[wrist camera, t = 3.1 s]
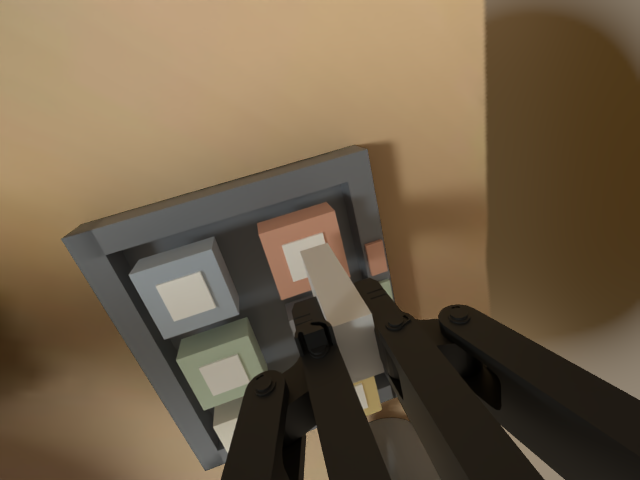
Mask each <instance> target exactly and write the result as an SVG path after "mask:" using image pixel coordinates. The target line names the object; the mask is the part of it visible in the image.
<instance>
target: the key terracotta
mask: <svg viewBox="0 0 640 480" xmlns="http://www.w3.org/2000/svg"><path fill="white" fill-rule="evenodd" d="M257 227H258V234H259V237H260V240H261V243H262V246H263V249H264V251H265V254H266V257H267V260H268V263H269V266H270V269H271V272H272V274H273V277H274V280H275V283H276V286H277V289H278V292H279V294H280V297H281V300H284V299H287V298H290V297H293V296H296V295H298V294H301V293H304V292H307V291H310V290H311V287H310V283H309V280H308V277H307V273H306V270H305V267H304V263H303V260H302V257H301V253H300V251H303V250H306V249H309V248H312V247H315V246H318V245H322V244H325V243H328V244H329V246H330V247H331V249H332V251H333V252H334V254H335V256H336V257H337V259H338V260H339V262H340V264H341V265H342V267H343V268H344V270H345V272H346V273H347V275H348V276H349V277H350V273H349V268H348V264H347V260H346V256H345V252H344V247H343V243H342V239H341V235H340V230H339V226H338V222H337V218H336V214H335V210H334V209H333V208H332V207H331V206H330V205H329V204H328V203H327V202H324V203H321V204H318V205H314V206H311V207H308V208H305V209H301V210H298V211H295V212H292V213H288V214H285V215H282V216H279V217H275V218H272V219H269V220H266V221H262V222H259V223H257Z"/></svg>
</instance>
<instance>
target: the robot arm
mask: <svg viewBox="0 0 640 480" xmlns="http://www.w3.org/2000/svg"><path fill="white" fill-rule="evenodd" d="M300 253H301V257H302V260H303V263H304V267H305V270H306V273H307V277H308V280H309V283H310V287H311V290H312V293H313V296H314V297H312V298H309V299H306V300H303V301H300V302H297V303H294V306H293V309H292V316H293V320H294V324H295V329H296V332H295V335H294V339H295V342H296V345H297V348H298V351H299V354H300V356H299V358H298V360H297V362H296V363H295V364H294V365H293V366H292V367H291V368H289V369H288V370H287V371H285V372H284V373H281V372H278V371H276V370H268V371H265V372H262V373H260V374H258V375H257V376H255V377H254V378H253V379H252V380H251V381H250V382H249V383H248V385H247V387H246V389H245V393H244V396H243V400H242V404H241V407H240V411H239V415H238V418H237V422H236V426H235V429H234V433H233V437H232V440H231V444H230V448H229V451H228V455H227V459H226V462H225V466H224V470H223V473H222V477H221V480H303V479H304V463H305V447H306V433H307V432H308V431H309V430H311V429H312V428H313V427H315V426H316V425H317V430H318V434H319V438H320V443H321V447H322V451H323V456H324V460H325V464H326V469H327V473H328V477H329V480H391V478H390V475H389V473H388V470H387V468H386V465H385V463H384V460H383V458H382V455H381V453H380V450H379V448H378V445H377V443H376V440H375V438H374V435H373V433H372V430H371V428H370V425H369V423H368V420H367V418H366V415H365V413H364V410H363V408H362V405H361V403H360V400H359V398H358V395H357V393H356V390H355V388H354V385H353V383H356V382H359V381H361V380H364V379H367V378H370V377H372V376H375V375H378V374H381V373H383V372H384V368H383V365H384V366H385V368H386V370H387V372H388V377H389V382H390V386H391V391H392V395H393V398H395V397H396V395H397V397H398V399H399V401H400V403H401V405H402V407H403V409H404V411H405V412H406V414H407V416H408V418H409V420H410V422H411V424H412V426H413V428H414V430H415V431H416V433H417V435H418V437H419V439H420V441H421V443H422V445H423V447H424V448H425V450H426V452H427V454H428V456H429V458H430V460H431V462H432V464H433V466H434V467H435V469H436V471H437V473H438V475H439V477H440V479H441V480H544V479H543V477H542V476H541V475H540V474H539V473H538V471H537V470H536V469H535V468H534V466H533V465H532V464H531V463H530V461H529V460H528V459H527V458H526V456H525V455H524V454H523V453H522V451H521V450H520V449H519V448H518V447H517V445H516V444H515V443H514V442H513V440H512V439H511V438H510V437H509V435H508V434H507V433H506V432H505V430H504V429H503V428H502V427H504V428H505V429H506V430H507V431H508V432H510V433H511V434H512V435H513V436H514V437H515V438H517V439H518V440H519V441H520V442H522V443H523V444H524V445H525V446H526V447H527V448H528V449H530V450H531V451H532V452H533V453H534V454H535V455H537V456H538V457H539V458H540V459H541V460H543V461H544V462H545V463H546V464H547V465H548V466H550V467H551V468H552V469H553V470H554V471H556V472H557V473H558V474H559V475H560V476H561V477H563V478H564V479H565V480H640V400H638V399H637V398H635V397H633V396H631V395H629V394H628V393H626V392H624V391H622V390H620V389H619V388H617V387H615V386H613V385H611V384H609V383H608V382H606V381H604V380H602V379H601V378H598V377H597V376H595V375H593V374H591V373H590V372H588V371H586V370H584V369H582V368H581V367H579V366H577V365H575V364H573V363H571V362H570V361H568V360H566V359H564V358H562V357H561V356H559V355H557V354H555V353H554V352H552V351H550V350H548V349H546V348H544V347H543V346H541V345H539V344H537V343H535V342H534V341H532V340H530V339H528V338H526V337H524V336H523V335H521V334H519V333H517V332H516V331H514V330H512V329H510V328H508V327H507V326H505V325H503V324H501V323H499V322H497V321H496V320H494V319H492V318H490V317H488V316H487V315H485V314H483V313H481V312H479V311H478V310H476V309H474V308H472V307H469V306H466V305H450V306H448V307H445V308H444V309H442V310H441V311H440V313H439V316H438V318H439V319H431V320H416V319H414V317H412V316H411V315H410V314H408V313H405V312H402V311H401V310H400V309H399V308H398V306H397V305H396V304H395V302H394V301H393V300H392V299H391V297H390V296H389V295H388V294H387V292H386V291H385V290H384V289H383V287H382V286H381V284H380V283H379V282H378V281H376V280H374V279H372V278H367V279H364V280H361V281H358V282H355V283H352V281H351V280H350V278H349V276H348V275H347V273H346V272H345V270H344V268H343V267H342V265H341V264H340V262H339V260H338V259H337V257H336V256H335V254H334V252H333V251H332V249H331V247H330V246H329V244H328V243H325V244H322V245H318V246H315V247H312V248H309V249H306V250H303V251H300ZM501 426H502V427H501Z"/></svg>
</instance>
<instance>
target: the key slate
mask: <svg viewBox="0 0 640 480" xmlns="http://www.w3.org/2000/svg"><path fill="white" fill-rule="evenodd" d="M129 277H130V279H131V281H132V282H133V284H134V286H135V288H136V290H137V291H138V293H139V295H140V297H141V299H142V300H143V302H144V304H145V306H146V308H147V309H148V311H149V313H150V315H151V317H152V318H153V320H154V322H155V324H156V326H157V327H158V329H159V331H160V333H161V335H162V336H163V338H164V340H165V339H168V338H171V337H174V336H177V335H180V334H183V333H186V332H189V331H192V330H195V329H198V328H201V327H204V326H207V325H210V324H213V323H215V322H218V321H221V320H224V319H227V318H230V317H233V316H236V315H239V296H238V293H237V291H236V288H235V286H234V283H233V281H232V279H231V276H230V274H229V271H228V269H227V266H226V264H225V261H224V259H223V257H222V254H221V252H220V249H219V247H218V244H217V242H216V240H215V237H210V238H207V239H204V240H201V241H197V242H194V243H191V244H188V245H184V246H181V247H178V248H175V249H171V250H168V251H165V252H162V253H158V254H155V255H152V256H149V257H145V258H142V259H139V260H138V262H137V263H136V265H135V266H134V268H133V269H132V271H131V272H130V274H129Z"/></svg>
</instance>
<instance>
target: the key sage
mask: <svg viewBox="0 0 640 480" xmlns="http://www.w3.org/2000/svg"><path fill="white" fill-rule="evenodd" d="M176 362H177V363H178V365H179V367H180V369H181V370H182V372H183V374H184V376H185V378H186V379H187V381H188V383H189V385H190V387H191V388H192V390H193V392H194V394H195V396H196V397H197V399H198V401H199V403H200V405H201V406H202V408H203V410H207V409H210V408H212V407H215V406H218V405H221V404H223V403H226V402H229V401H232V400H234V399H237V398H240V397H243V396H244V393H245V389H246V387H247V385H248V383H249V382H250V381H251V380H252V379H253V378H254V377H255V376H257V375H258V374H260V373H262V372H265V371H268V368H267V364H266V361H265V359H264V357H263V354H262V352H261V349H260V347H259V344H258V342H257V339H256V337H255V335H254V332H253V330H252V327H251V325H250V322H249V320H248V318H247V317H245V318H242V319H239V320H236V321H234V322H231V323H228V324H225V325H222V326H219V327H216V328H213V329H210V330H207V331H204V332H201V333H198V334H195V335H192V336H189V337H186V338H183V339H181V342H180V346H179V350H178V354H177V358H176Z"/></svg>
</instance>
